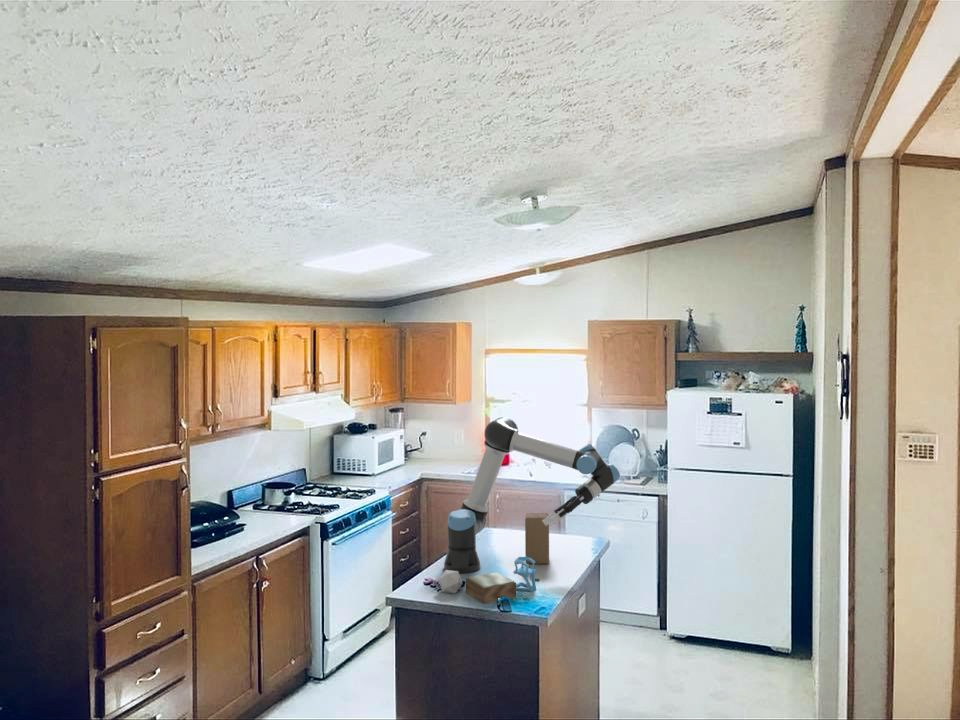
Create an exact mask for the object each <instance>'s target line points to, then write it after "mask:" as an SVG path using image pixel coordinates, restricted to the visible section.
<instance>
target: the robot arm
mask: <svg viewBox="0 0 960 720" xmlns="http://www.w3.org/2000/svg"><path fill="white" fill-rule="evenodd" d="M518 428H519V427H518V424H517V423H516V422H515V421H514V420H513V419H511V418H509V417H502V416H501V417H497V418H496V419H495V420H492V421H490V422H489V423H488V424H487V425H486V426H485V429H484V438H485V440H484V443H483V444H484V446H485V450H484V453H483V455H482V459H481V462H480V464H479V467H478V470H477V473H476V476H475V479H474V480H473V484H472V487H471V489H470V492H469V495H468V498H467V499H464V500H463V501H462V504H461V507H460V509H456V510H454V511H451V512H450V513H449V514H448V517H447V521H446V523H447V553H446V555H445V559H444V561H443V567H444V568H443V569H444V571H445V570H451V571H458V572H459V574H469V573H473V572H477V571H479V570H480V569H481V561H480V559H479V555H478V552H477V543H476V542H477V541H476V539H477V535H478V534H479V533H480V532H481V531H482V530H483V529H484V528H485V527H486V524H487V515H488V513H489V508H488V502H489V500H490V497H491V495H492V491H493V488H494V486H495V484H496V480H497V478H498V476H499V472H500V470H501V466H502V464H503V461H504V458H505V457H506V455H509V454H510V453H511V452H513V451H515V452H518V453H521V454H524V455H527V456H531V457H534V458H538V459H541V460H544V461H548V462H551V463H554V464H558V465H561V466H564V467H567V468H570V469H573V470H576V471H578V472H579V473H580V474H582V475H592V476H591V477H590V478H588V479H587V480H586V481H584V482H583V483H582V484H581V485H579V486H578V487H577V488H575V491H574V492H575V495H574V496H573V495H572V497H570V499H568V500H567V501H566V502H565V503H563V504H561V505H560V506H559V507H557V508H556V509H554V510H553V512H552V513H550V514H549V516H547V517H546V518H545V519H543V520H542V522H543V523H544V524H545V526H547V525H548V524H549V525H550V524H551V523H553V524H557V523H558V522H559V521H560V520H561V519H563V518H564V517H566V516H568V514H570V513H572V512H573V511H574V510H575V509H576V508H577V507H579V506H580V505H582V503H583V504H584V505H587V504H589V503H591V502H592V501H593V499H595V498H597V497H599V498H600V497H601V495H600V494H601V493H603V492H604V491H606V490H607V489H608V488H610V487H611V486H613V485H614V484H615V483H616V482H617V481H618V480H619V479H620V477H621V473H620V471H619V469H618V468H617V467H616V466H615V465H614V464H612V463H608V464H607V463H606V462H605V461H604V458H602V457H601V455H600V454H599V453H598V451H597V449H596V447H594V446H593V445H592V444H591V443H586V445H584V446H582V447H581V448H580V449H578V450H577V449H573V448H571V447H567V446H564V445H561V444H557V443H554V442H551V441H548V440H545V439H540V438H537V437H534V436H530V435H528V434H525V433H521V432H520V431H519V429H518Z"/></svg>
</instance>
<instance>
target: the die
mask: <svg viewBox="0 0 960 720" xmlns="http://www.w3.org/2000/svg"><path fill="white" fill-rule="evenodd" d="M437 581H438V583H439V586H440V588H441V591H442V593H446V594H447V593H450V594H457V592H458V591H459V589H460V588H461V586H462V585H463V583H464V582H463V580H462V578H461V575H460V573H459V572H458V571H451V570H445V569H444V572H443V573H442V574H441V575H440V577H439V578H438V580H437Z"/></svg>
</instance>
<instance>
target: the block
mask: <svg viewBox="0 0 960 720" xmlns="http://www.w3.org/2000/svg"><path fill="white" fill-rule="evenodd" d="M549 515H550V514H549V513H548V512H527V513H526V515H525V520H524V521H525V523H524V524H525V525H524V526H525V528H524V530H525V531H524V532H525V533H524V534H525V536H524V539H525V550H524V551H525V557H528V558H531V559H532V560H534V561H535V564H534V565H548V564H549V563H550V523H549V524H548V525H547V526H545V524H544V523H543V522H542V520H543V519H545V518H546V517H547V516H549ZM525 563H528V564H529V565H530V564H531V565H533V563H532V562H531V561H529V560H525Z"/></svg>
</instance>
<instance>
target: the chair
mask: <svg viewBox="0 0 960 720" xmlns="http://www.w3.org/2000/svg"><path fill="white" fill-rule="evenodd" d="M526 560H529V561H531V562H532V563H533V564H531V565H532V566H531V568H530V567H529V566H530V564H527V563H526ZM518 565H521V567H518ZM535 565H536V564H535V561H534V560H532V559H531V558H528V557H526V556H518V557H517V558H515V560H514V567H515V569H514V571H512V573H513V574H514V575H518V576H521V577H522V578H523V580H524V581H525V582H526V583H525V582H523V581H520V582H518V583H516V591H522V592H523V591H524V592H534V590H537V584H536V577H535V573H536V572H537V569H535ZM529 576H530V580H531V583H530V580H529V578H528V577H529ZM519 586H524V587H519Z"/></svg>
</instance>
